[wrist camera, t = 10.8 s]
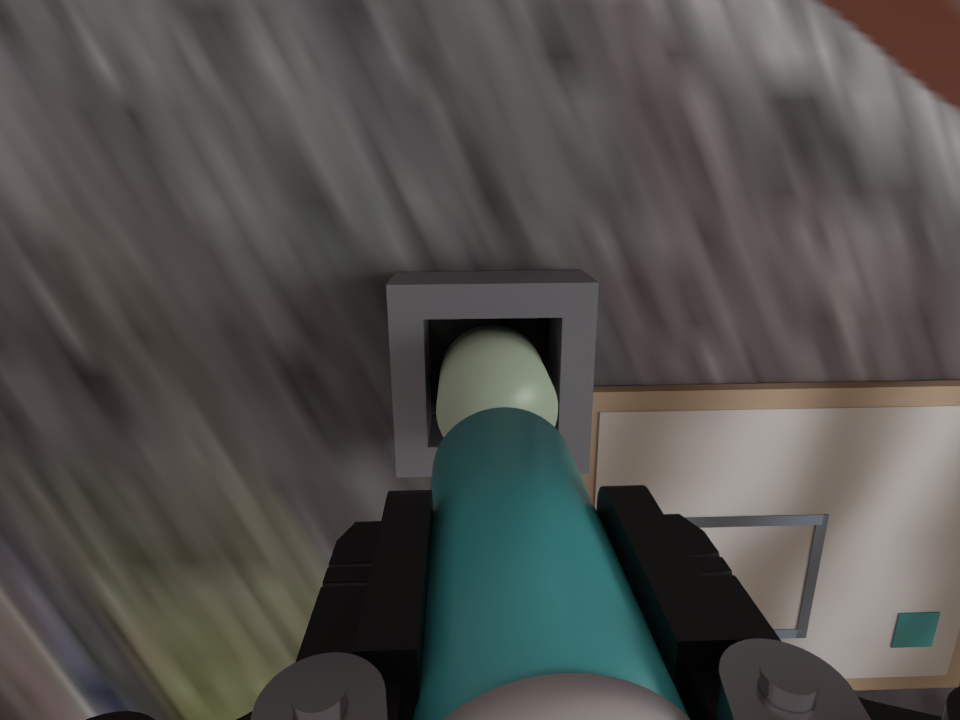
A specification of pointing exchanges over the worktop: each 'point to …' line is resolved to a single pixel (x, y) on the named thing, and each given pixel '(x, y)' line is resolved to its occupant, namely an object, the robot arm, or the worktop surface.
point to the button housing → (489, 297)
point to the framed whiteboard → (812, 507)
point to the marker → (529, 588)
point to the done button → (492, 377)
